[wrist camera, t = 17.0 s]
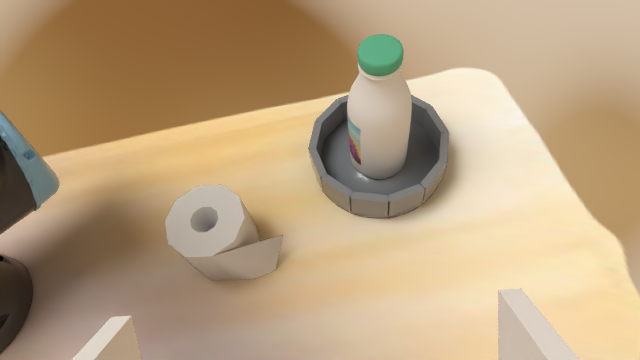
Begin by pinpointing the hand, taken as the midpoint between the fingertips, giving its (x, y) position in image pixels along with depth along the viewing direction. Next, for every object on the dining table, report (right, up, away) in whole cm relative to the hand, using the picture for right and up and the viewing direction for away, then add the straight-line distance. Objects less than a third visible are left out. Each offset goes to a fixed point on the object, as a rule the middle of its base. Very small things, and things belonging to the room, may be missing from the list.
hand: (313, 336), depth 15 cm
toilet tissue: (-11, -4, +41) cm, 43 cm away
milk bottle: (+8, +9, +45) cm, 46 cm away
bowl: (+8, +8, +45) cm, 47 cm away
